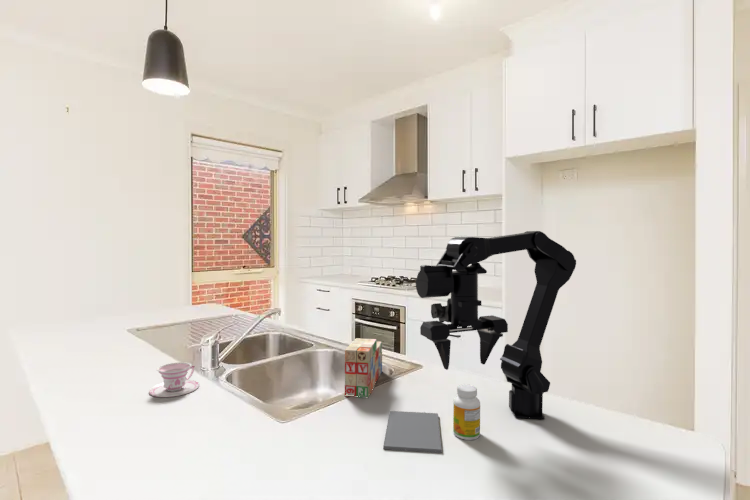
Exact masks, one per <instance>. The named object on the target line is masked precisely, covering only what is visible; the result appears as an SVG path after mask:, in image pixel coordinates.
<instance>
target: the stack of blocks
mask: <svg viewBox="0 0 750 500" xmlns="http://www.w3.org/2000/svg"><path fill="white" fill-rule="evenodd" d="M382 345H383V343H382V341H377V339H376V338H359V337H356V338H355V339H354V340H353V341H352V342H351V343H350V344H349V345H348V346H347V347H346V348H345V350H344V396H345V395H346V394H348V395H354V396H358V397H357V398H362V397H368V398H369V397H370V395H371V394H372V392H373V390H374V388H375V386H376V384H375V382H376V381H378V380H379V378H380V376H381V375H382V372H383V351H382V349H383V346H382ZM376 383H377V382H376ZM374 385H375V386H374ZM373 387H374V388H373ZM372 389H373V390H372ZM371 391H372V392H371ZM370 393H371V394H370ZM359 396H360V397H359Z"/></svg>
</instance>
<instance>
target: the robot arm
mask: <svg viewBox="0 0 750 500" xmlns="http://www.w3.org/2000/svg"><path fill="white" fill-rule="evenodd" d="M525 250H526V251H527V254H528V256H529V258H530V259H531V260H532V261H533V262H534V263H535V265H534V274H535V279H536V280H535V281H536V284H535V286H534V291H533V294H532V297H531V300H530V302H529V304H528V309H527V311H526V314H525V316H524V320H523V323H522V327H521V329H520V332H519V335H518V337H517V339H516V341H514V343H513V344H509V343H507V344H505V346H504V348H503V353H502V355H501V357H500V358H499V360H500V361H501V364H500V369H501V370H502V373H503V374H504V377H505V379H506V382H508V383H510V384H511V389H510V390H509V391H508V408H509V410H510V411H511V412H512V414H513V417H514V418H516V419H528V420H529V419H532V420H545V419H546V416H545V415H544V413H543V404H544V403H543V398H544V397H543V396H544V393H548V392H549V389H550V386H551V382H550V381H549V380H548V378H547V377H546V376H545V375H544V374H543V373H542V372H541V371H542V365H543V359H542V354H541V350H540V348H541V346H542V345H541V344H542V341H543V339H544V335H545V333H546V330H547V329H546V328H547V326H548V323H549V321H550V318H551V317H550V316H551V314H552V311H553V308H554V306H555V302H556V300H557V296H558V293H559V291H560V289H561V288H562V287H563V286H564V285H565V284H566V283H567V282H568V281H569V280H570V279H571V277H572V275H573V273H574V272H575V269H576V265H577V259H576V258H575V256H574V253H572V252H571V251H570V250H569V249H568V250H567V249H566V247H564V246H563V245H561V244H559V243H558V242H556V241H554V240H553V239H551V238H550V237H549V236H548V235H547V234H546V233H544V232H543V231H540V230H529V231H528V230H527V231H525V232H521V233H514V234H506V235H499V236H492V237H477V236H460V237H459V236H454V237H452V238H450V239H449V241H448V242H447V244H446V248H445V251H444V253H442V255H441V258H440V259H439V260H438V262H437V264H436V265H428V264H422V265H420V270H419V272H418V273H417V276H416V280H415V288H416V292H417V294H418V296H419V297H420V298H421V299H428V298H430V299H431V298H442V297H443V298H444V297H448V296H450V297H449V298H447V301H446V305H444V306H443V305H442V303H440V302H437V303H433V304H431V305H430V314H431V315H430V316H431V318H432V320H428V321H423V322H422V324H420V326H419V327H420V328H419V329H420V331H419V332H420V336H423V337H425V338H426V339H428V340H430V341H431V342H432V343H433V344H434V345H435V348H436V349H437V352H438V356H439V357H440V360H441V363H442V366H443V369H445V370H446V371H448V370H449V369H450V368H449V366H450V357H451V343H452V341H451V340H450V339H448V338H449V336H451V335H450V333H451V334H452V333H453V334H454V333H462V332H473V331H477V334H478V336H479V359H480V364H482V365H486V363H487V360H488V359H489V356H490V355H491V353H492V351H493V349H494V347H495V346H496V344H497V343H498V342H499V339H500V338H502V337H504V333H508V332H509V330H508V329H509V326H508V325H509V324H508V322H507V320H506V319H505V318H502V317H500V316H496V315H494V314H493V315H492V314H491V315H483V316H479V307H480V306H482V300H479V291H478V290H479V289H478V288H479V282H478V280H479V279H478V278H479V276H478V275H481V274H483V275H484V274H487V273H488V271H487V269H486V268H484V267H483V265H481V263H480V262H483V261H486V260H487V259H488V258H490V257H492V256H495V255H499V254H500V255H501V254H502V255H503V254H507V253H508V254H509V253H513V252H519V251H525ZM433 319H438V320H433ZM446 322H447V324H446Z"/></svg>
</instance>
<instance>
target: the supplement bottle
mask: <svg viewBox="0 0 750 500" xmlns="http://www.w3.org/2000/svg"><path fill="white" fill-rule="evenodd" d="M477 396H478V388H477V387H476V386H474V385H471V384H465V383H463V384H460V385H459V384H458V386H457V387H456V395H455V396H454V399H453V417H452V418H453V419H452V420H453V421H452V422H453V427H452V430H453V435H454V436H455V437H457V438H458V439H461V440H465V441H473V440H477V439H478V438H479V437H480V434H481V401H480V399H479V398H478V397H477Z"/></svg>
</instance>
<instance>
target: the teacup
mask: <svg viewBox="0 0 750 500" xmlns="http://www.w3.org/2000/svg"><path fill="white" fill-rule="evenodd" d="M194 368H195V365H193V364H192V363H191V362H185V361H183V362H182V361H181V362H171V363H167V364H162V365H160V366H158V367H157V368H156V371H157V372H158V373H159V374H160V375H161V377H162V380H163V382H161V383H159V384H156V385H154V386H152V387H150V389H149V390H148V393H149V395H150V396H152V397H156V398H173V397H179V396H184V395H187V394H191V393H192V392H195V391H196V390H198V389H199V387H200V383H199V382H198V381H197V380H192V379H191V377H192V376H193V374H194V372H195V369H194ZM190 370H191V372H190V374H189V373H188V371H190ZM187 374H189V375H188V376H187ZM183 387H184V388H183ZM182 388H183V389H182ZM157 389H159V390H157ZM166 390H167V391H166Z"/></svg>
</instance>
